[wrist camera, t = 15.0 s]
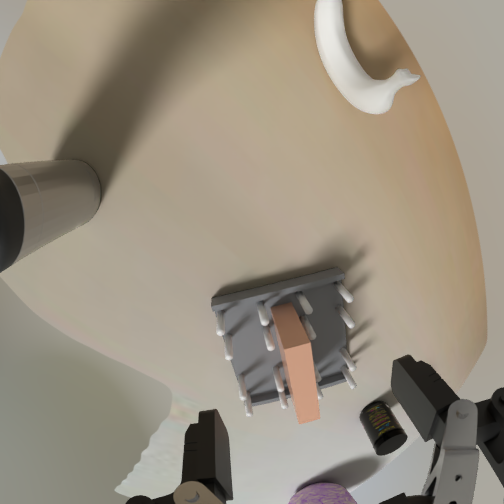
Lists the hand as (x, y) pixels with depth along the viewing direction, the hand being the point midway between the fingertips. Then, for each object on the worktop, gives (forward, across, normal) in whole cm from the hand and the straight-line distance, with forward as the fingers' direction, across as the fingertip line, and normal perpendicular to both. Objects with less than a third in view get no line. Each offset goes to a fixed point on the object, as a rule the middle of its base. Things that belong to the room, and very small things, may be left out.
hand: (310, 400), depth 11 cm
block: (+27, -2, +17) cm, 32 cm away
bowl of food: (+28, -2, +74) cm, 79 cm away
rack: (+28, -2, +17) cm, 33 cm away
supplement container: (+28, -17, +42) cm, 53 cm away
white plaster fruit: (+28, -16, -22) cm, 39 cm away
